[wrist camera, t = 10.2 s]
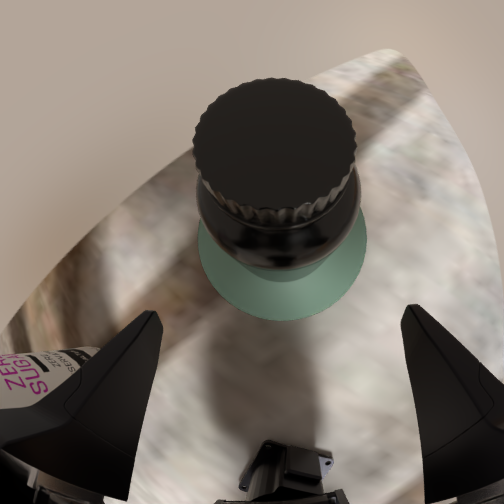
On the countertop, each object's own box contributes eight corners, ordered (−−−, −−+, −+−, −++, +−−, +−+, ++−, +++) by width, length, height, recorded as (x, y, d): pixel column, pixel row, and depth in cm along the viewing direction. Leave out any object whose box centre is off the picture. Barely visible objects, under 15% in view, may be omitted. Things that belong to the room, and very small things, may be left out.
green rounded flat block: (327, 340, 20) (333, 345, 17) (187, 285, 22) (172, 282, 19) (371, 201, 21) (382, 187, 18) (241, 158, 24) (235, 140, 21)
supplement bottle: (213, 246, 19) (117, 167, 8) (270, 172, 20) (247, 39, 8) (294, 305, 18) (307, 307, 6) (349, 223, 18) (420, 117, 7)
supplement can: (85, 419, 21) (-19, 459, 6) (67, 347, 22) (-52, 353, 8) (145, 425, 20) (34, 497, 5) (124, 342, 22) (-19, 359, 7)
